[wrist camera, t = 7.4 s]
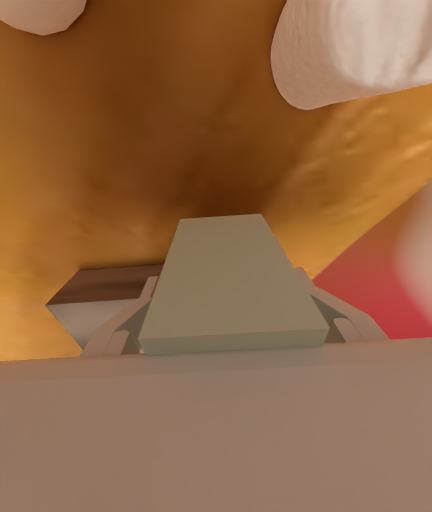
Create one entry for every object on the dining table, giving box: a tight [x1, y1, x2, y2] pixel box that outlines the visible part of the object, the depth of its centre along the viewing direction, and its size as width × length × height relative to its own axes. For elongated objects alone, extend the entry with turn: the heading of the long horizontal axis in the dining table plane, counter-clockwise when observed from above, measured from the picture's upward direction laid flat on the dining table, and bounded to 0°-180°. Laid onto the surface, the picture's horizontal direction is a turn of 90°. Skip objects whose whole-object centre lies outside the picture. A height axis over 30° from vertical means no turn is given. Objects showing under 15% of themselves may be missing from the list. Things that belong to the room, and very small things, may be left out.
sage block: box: [138, 214, 330, 355], centre depth 10 cm, size 5×5×8 cm
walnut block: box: [45, 264, 164, 354], centre depth 20 cm, size 10×10×5 cm
